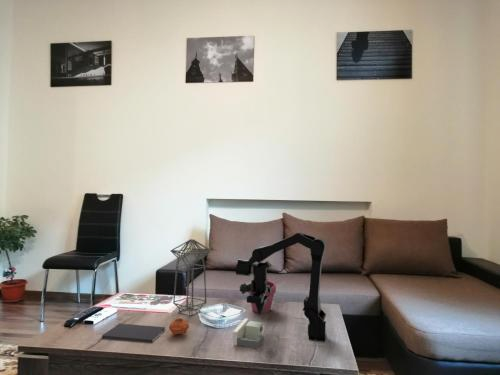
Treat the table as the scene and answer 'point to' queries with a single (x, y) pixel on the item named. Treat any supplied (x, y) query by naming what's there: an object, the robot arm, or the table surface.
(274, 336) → the table surface
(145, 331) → the notebook
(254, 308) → the plant pot
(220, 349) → the table surface
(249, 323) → the cabinet block
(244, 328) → the cleat board
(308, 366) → the table surface
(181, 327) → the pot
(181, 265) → the geometric lantern
